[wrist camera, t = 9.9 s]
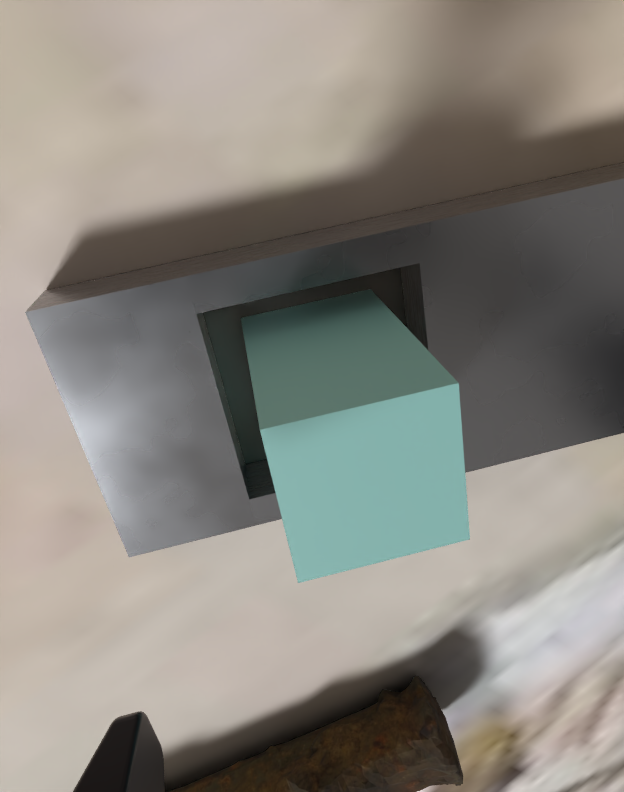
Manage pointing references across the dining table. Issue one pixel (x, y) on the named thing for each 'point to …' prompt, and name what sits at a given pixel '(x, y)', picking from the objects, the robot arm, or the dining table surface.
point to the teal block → (356, 434)
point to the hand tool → (355, 753)
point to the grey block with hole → (426, 319)
